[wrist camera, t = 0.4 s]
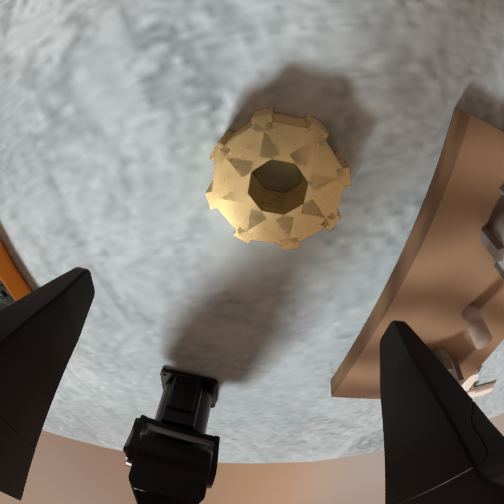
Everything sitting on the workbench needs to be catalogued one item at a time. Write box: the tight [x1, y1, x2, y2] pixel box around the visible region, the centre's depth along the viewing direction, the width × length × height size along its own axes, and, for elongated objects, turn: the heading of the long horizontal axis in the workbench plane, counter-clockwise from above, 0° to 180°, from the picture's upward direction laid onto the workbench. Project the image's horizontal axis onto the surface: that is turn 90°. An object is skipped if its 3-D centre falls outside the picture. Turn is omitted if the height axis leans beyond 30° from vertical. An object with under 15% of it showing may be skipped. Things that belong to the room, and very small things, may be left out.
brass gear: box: [206, 107, 352, 250], centre depth 17 cm, size 8×8×3 cm
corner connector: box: [461, 370, 494, 398], centre depth 31 cm, size 8×8×2 cm
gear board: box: [331, 108, 504, 399], centre depth 20 cm, size 28×16×6 cm, turn 171°
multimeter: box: [0, 240, 31, 310], centre depth 28 cm, size 9×18×3 cm, turn 16°
